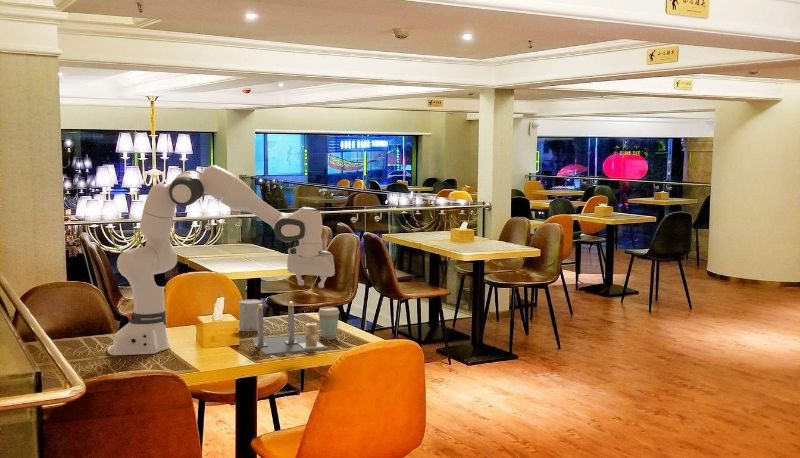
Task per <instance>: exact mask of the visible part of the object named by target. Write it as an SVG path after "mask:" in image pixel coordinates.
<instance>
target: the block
mask: <svg viewBox="0 0 800 458" xmlns="http://www.w3.org/2000/svg"><path fill="white" fill-rule="evenodd" d="M305 335H306V346H316V345H317V340H318V322H307V323H305Z"/></svg>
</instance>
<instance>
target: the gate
mask: <svg viewBox="0 0 800 458" xmlns="http://www.w3.org/2000/svg"><path fill="white" fill-rule="evenodd" d="M287 305H288V310H287V311H288V312H287V313H288V314H287V315H288V316H287V317H288V318H287V323H288V326H287V327H288V328H287V329H288V330H287V332H288V335H287V336H288V337H289V341H284V343H286V344H287V345H294V344H298V342H297V341H296V340H294V336H295V307H294V306H295V303H294V302H293V301H289V302H288V304H287ZM257 308H258V309H259V310H257V323H258V330H257V339H258V343H256V344H255V343H253V346H254V348H257V349H260V348H261V347H268V345H267V344H266V343H264V341H263V338H264V305H263V303H262V304H259V305H258V306H257Z"/></svg>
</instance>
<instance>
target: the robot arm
mask: <svg viewBox="0 0 800 458" xmlns="http://www.w3.org/2000/svg"><path fill="white" fill-rule="evenodd" d="M204 195H209V196H211V197H212V198H214V199H216V200H217V201H218V202H220V203H222V204H223V205H225V207H226V206H227V207H228V208H231V209H233V210H234V211H240V212H241V211H242V212H247V213H250V214H253V215H254V216H256V217H257V218H259V219H260V220H262V221H263V222H265V223H267V224H268V225H269V226H270V227H271V228H272V229H273V232H274V235H275V237H276V238H277V240H279V241H281V242H283V243H291V242H295V241H298V245H295V246H293V247H289V248H288V249H287V253H288V256H287V259H286V260H287V262H286V263H287V264H286V268H287V271H288V273H290V274H295V278H296V280H297V284H298V286H304V285H305V280H303V277H302V276H303V275H307V276H315V277H316V276H318V277H319V278H320V282H318V283H317V285H318V286H317V287H318V288H319V289H323V288H325V282H326V280H327V278H329V277H333V276H334V275H335V274H336V272H335V271H336V269H335V261H334V255H333V253H331V252H330V251H325V250H323V239H322V238H323V237H322V233H323V217H322V213H321V212H320V210H318V209H317V208H314V207H309V206H308V207H307V206H302V207H300V208H299V209H298V210H295V212H292V213H290V212H289V213H288V212H283V211H280V210H278V209H277V208H275V207H273V206H271V205H270V204H268V203H267V202H266V201H264V200H262V198H260V197H259V196H258V195H257V194H256V193H255V191H254V190H253V189H252V188H251V187H250V186H249V185H248V184H247V183H246V182H245V181H243V180H242V179H240V178H239V177H238V176H236V175H235V174H234V173H232V172H230V171H229V170H227V169H224V168H222V167H220V166H218V165H214V164H213V165H212V164H211V165H209V166H207V167H206V168H205V169H204V170H203V171H202V172H200V171H198V170H197V169H185V170H183V171H182V172H181V173H179V174H178V175H177V176H176V177H175V178H174V179H173V180H172V181H171V183H170V184H167V183H161V182H160V183H155V184H154V185H152V186H151V187H150V189H149V191H148V194H147V197H146V199H145V202H144V205H143V210H142V214H141V218H140V222H139V223H140V225H139V231H140V233H141V234H142V235H143V236H144V237H145V244H144V246H142V247H134V248H130V249H127V250H126V251H123V252H121V253H120V254H119V255H118V258H117V260H116V267H117V270H118V273H120V274H121V276H123V277H124V278H125V279H126V280H127V281H128V283H129V286H130V288H131V291H132V295H133V296H132V298H133V311H132V312H131V311H128V312H126V317H127V318H128V323H127V324H125V325H124V326H123V327H122V328H120V329H119V330H118V331H116V332H115V335H114V338H113V344H111V345H109V346H108V347H107V353H108V355H110V356H128V355H129V356H132V355H134V356H136V355H149V354H150V355H154V354H157V353H160V352H162V351H165V350H167V349H170V347H171V345H170V343H169V338H168V334H167V328H166V325H167V313H166V310H165V292H164V289H163V288H162V287H161V286H159V285H157V283H156V281H155V276H154V275H158V274H163V273H166V272H168V271H170V270H172V269H174V268H175V267H176V265H177V263H178V254H177V252H176V249H175V248H174V247H173V246H172V244H171V231H172V225H173V221H174V216H175V211H176V208H177V206H180V207H188V206H190V205H193V204H195V202H197V201H198V200H199V199H201V198H202V197H203V196H204Z"/></svg>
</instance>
